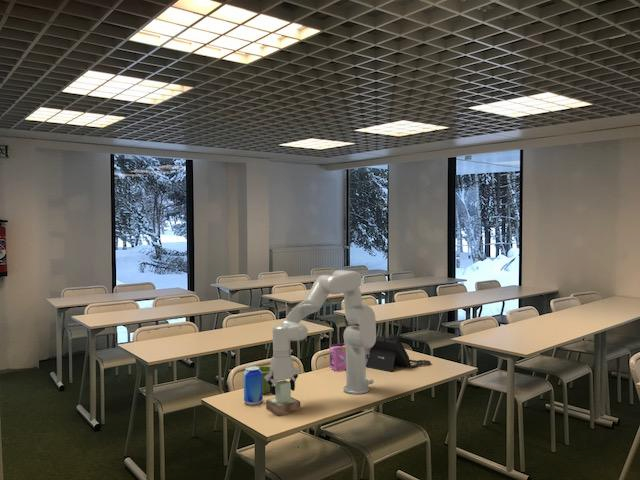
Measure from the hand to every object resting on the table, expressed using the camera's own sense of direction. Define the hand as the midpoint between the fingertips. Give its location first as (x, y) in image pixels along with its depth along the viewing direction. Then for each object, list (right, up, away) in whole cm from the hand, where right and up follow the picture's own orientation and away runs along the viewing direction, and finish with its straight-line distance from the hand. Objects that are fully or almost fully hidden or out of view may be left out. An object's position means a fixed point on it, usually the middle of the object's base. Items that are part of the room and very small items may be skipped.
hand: (282, 392), depth 226 cm
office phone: (+62, -5, +68) cm, 92 cm away
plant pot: (-11, -8, +26) cm, 30 cm away
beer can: (-14, -8, +11) cm, 20 cm away
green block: (0, -4, 0) cm, 4 cm away
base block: (0, -8, 0) cm, 8 cm away
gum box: (+34, -6, +66) cm, 74 cm away
